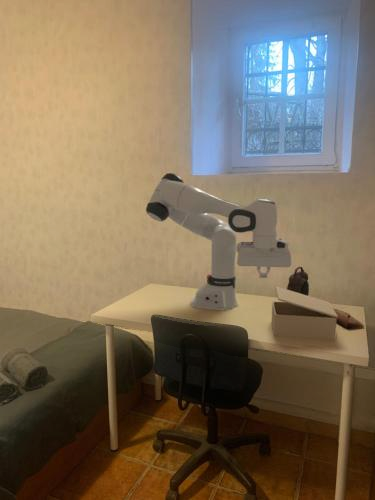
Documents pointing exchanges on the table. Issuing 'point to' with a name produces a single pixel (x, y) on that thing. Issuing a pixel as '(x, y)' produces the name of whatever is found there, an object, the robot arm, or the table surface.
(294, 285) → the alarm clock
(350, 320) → the sunglasses case
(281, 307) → the carton
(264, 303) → the table surface
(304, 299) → the carton flap
